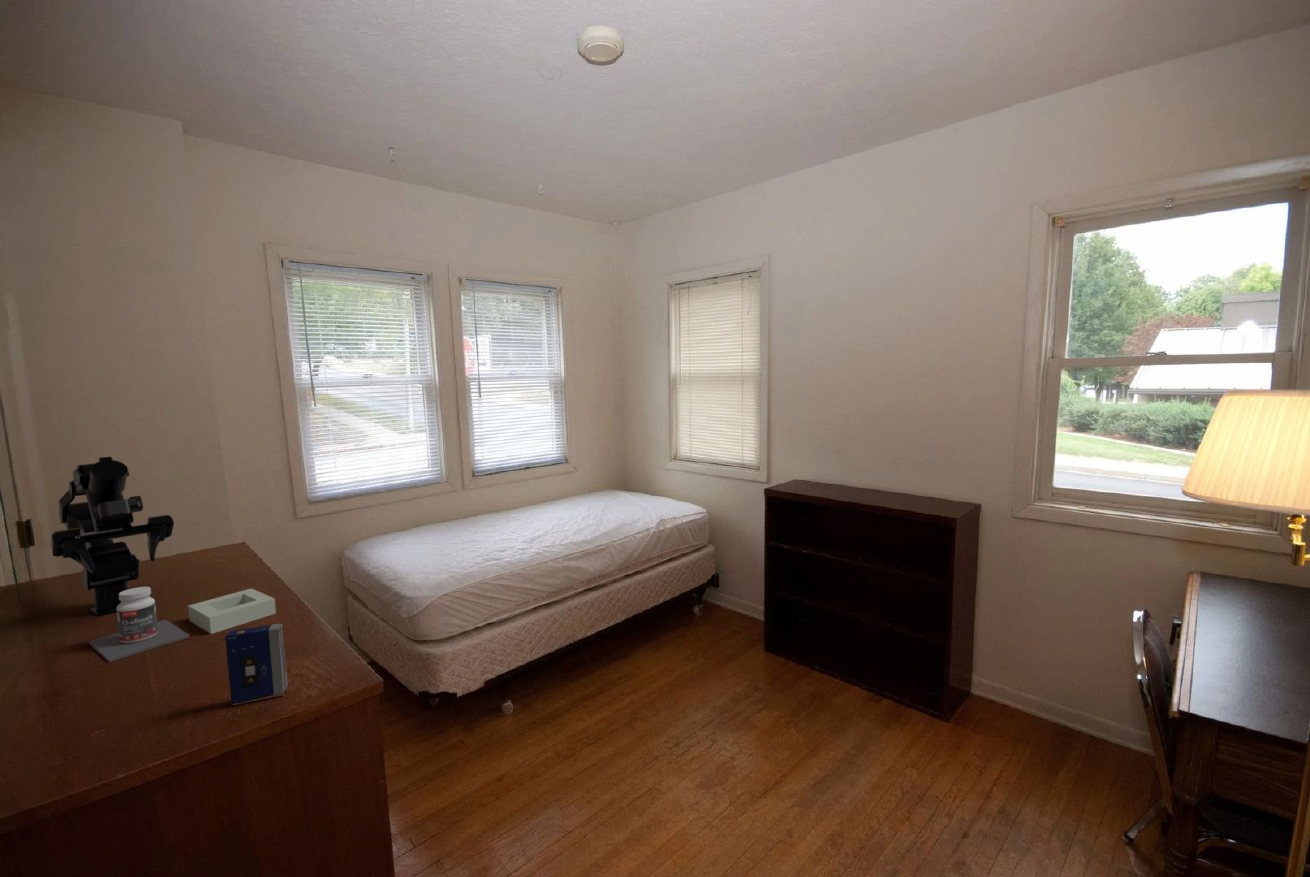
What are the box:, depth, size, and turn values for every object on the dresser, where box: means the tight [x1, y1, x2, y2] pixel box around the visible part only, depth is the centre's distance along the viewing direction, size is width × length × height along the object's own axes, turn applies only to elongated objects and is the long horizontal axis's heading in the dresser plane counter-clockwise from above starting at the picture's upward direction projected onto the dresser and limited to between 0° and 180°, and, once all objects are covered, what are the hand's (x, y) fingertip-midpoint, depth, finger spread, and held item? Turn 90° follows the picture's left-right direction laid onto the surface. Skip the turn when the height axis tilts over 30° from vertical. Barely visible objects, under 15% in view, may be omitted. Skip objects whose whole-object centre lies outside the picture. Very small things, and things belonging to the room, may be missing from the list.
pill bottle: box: [116, 586, 158, 643], centre depth 111 cm, size 6×6×10 cm
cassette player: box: [224, 622, 289, 705], centre depth 90 cm, size 7×2×12 cm, turn 114°
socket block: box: [187, 588, 277, 635], centre depth 122 cm, size 12×12×4 cm
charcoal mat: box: [88, 619, 190, 663], centre depth 111 cm, size 14×12×1 cm
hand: (124, 566), depth 116 cm, fingers open, 9 cm apart
